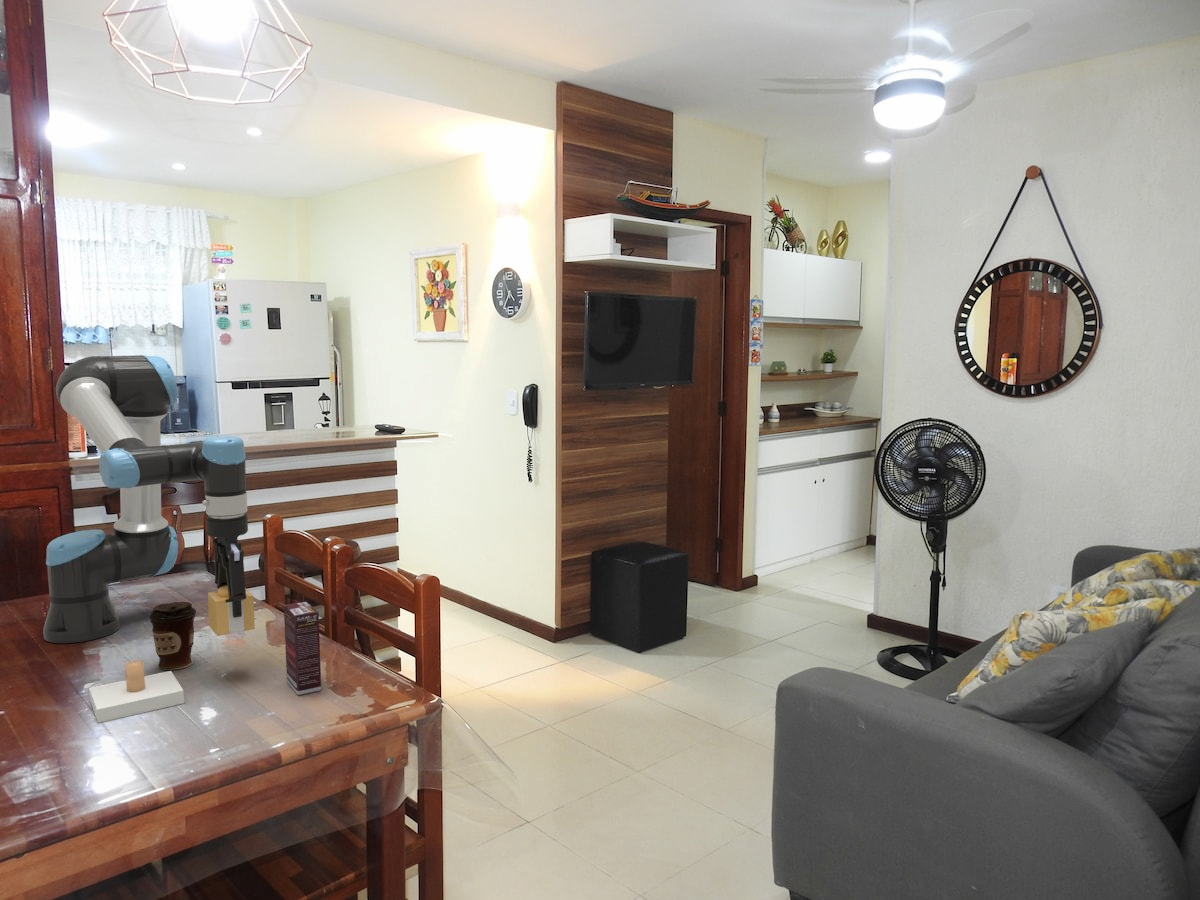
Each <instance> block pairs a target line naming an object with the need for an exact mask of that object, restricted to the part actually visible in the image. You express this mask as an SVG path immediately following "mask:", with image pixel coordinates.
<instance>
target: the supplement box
mask: <svg viewBox="0 0 1200 900" xmlns="http://www.w3.org/2000/svg"><path fill="white" fill-rule="evenodd" d="M283 617H284V618H283V619H284V620H283V621H284V622H283V623H284V636H285V637H284V640H285V641H284V642H285V643H284V644H285V664H286V665H285V666H286V668H285V669H286V682H287V684H288V685H289V686H290V687H291V689H292V690H293V691H294V692H295V694H296V695H297V696H301V695H306V694H312V693H316V692H320V691H322V675H321V674H322V672H321V670H322V668H321V644H320V643H321V642H320V621H319V620H320V614H319V611H318V610H317V609H315V607H313V606H312V605H311V604H310V603H309V602H308V601H302V602H301V601H299V602H294V603H288V604H284V605H283Z"/></svg>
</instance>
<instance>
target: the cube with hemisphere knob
mask: <svg viewBox="0 0 1200 900" xmlns="http://www.w3.org/2000/svg"><path fill="white" fill-rule="evenodd" d="M245 590H246V599H244V600H243V610H244V631H241V632H246V631H247V632H248V631H252V630H255V627H256V626H255V605H254V602H255V601H254V594H252V592H250V591H249V590H248V589H247V588H246V587H245ZM226 599H229V594H228V586H223V587H220V588H217V590H216V591H209V592H207V610H208V612H207V613H208V626H209V627H210V629H211V630H212V631H213V633H215V635H216V636H217V637H219V636H220V637H221V636H225V635H230V633H229V621H228V603H226V602H225V600H226ZM241 632H240V633H241ZM236 633H238V632H236ZM236 633H235V634H236Z"/></svg>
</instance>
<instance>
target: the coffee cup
mask: <svg viewBox="0 0 1200 900" xmlns="http://www.w3.org/2000/svg"><path fill="white" fill-rule="evenodd" d="M196 614H197V610H196V609H195V608H193V603H191V602H189V601H174V602H170V603H169V602H168V603H161V604H157V605H155V606H154V607H152V611H151V613H150V615H149V619H150V623H151V625H152V629H151V630H152V637H153V641H154V649H155V653H156V655H157V657H158V658H159V662H158V668H159V669H160V670H162V671H163V670H164V671H166V670H167V671H175V670H181V669H185V668H189V667H190V666H192V665H193V664H194V663H193V660H192V658H191V657H192V655H191V654H192V649H193V645H194V638H195V627H194V622H195V621H194V620H195V618H196Z"/></svg>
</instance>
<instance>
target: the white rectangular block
mask: <svg viewBox="0 0 1200 900" xmlns="http://www.w3.org/2000/svg"><path fill="white" fill-rule="evenodd" d="M144 664H145V663H144V661H143V660H132V661H128V662H126V663H125V665H124V668H125V669H124V670H125V680H124V679H123V680H121V681H116V682H110V683H106V684H101V685H96V686H91V687H89V688H88V690H89V701H90V704H91V707H92V710H93V713H94V715H95V719H96V722H97V724H100V723H104V722H108V721H112V720H117V719H122V718H127V717H130V716H135V715H139V714H143V713H148V712H152V711H155V710H160V709H165V708H170V707H173V706H177V705H183V704H185V694H184V689H183V688H182V686H181V684H180V682H179V681H178V679H177V678H176V676H175V675H174V673H173V672H172V671H173V670H167V671H163V672H158V673H154V674H149V675H145V666H144Z"/></svg>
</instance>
